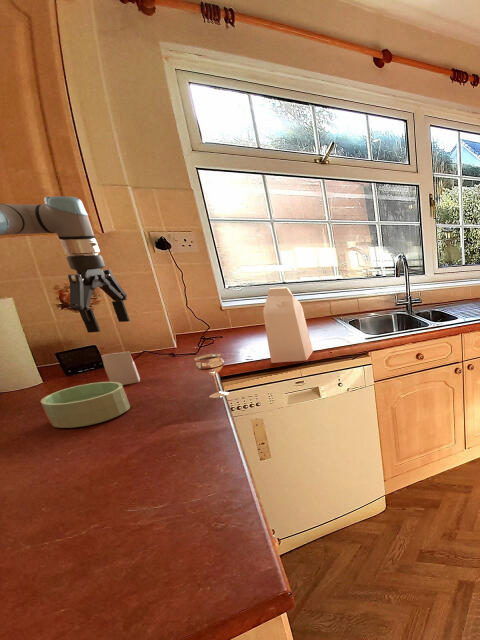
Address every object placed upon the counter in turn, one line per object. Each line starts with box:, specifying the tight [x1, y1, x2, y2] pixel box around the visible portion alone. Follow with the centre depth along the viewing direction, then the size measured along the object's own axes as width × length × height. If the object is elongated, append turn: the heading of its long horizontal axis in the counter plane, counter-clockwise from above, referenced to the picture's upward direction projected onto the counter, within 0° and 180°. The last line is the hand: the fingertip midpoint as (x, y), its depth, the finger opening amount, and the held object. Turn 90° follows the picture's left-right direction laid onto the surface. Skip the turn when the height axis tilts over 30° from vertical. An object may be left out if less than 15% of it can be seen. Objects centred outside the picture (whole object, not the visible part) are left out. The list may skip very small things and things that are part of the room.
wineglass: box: [193, 352, 229, 399], centre depth 125 cm, size 7×7×12 cm
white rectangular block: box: [100, 350, 141, 386], centre depth 135 cm, size 4×7×10 cm, turn 126°
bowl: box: [40, 381, 131, 429], centre depth 113 cm, size 16×16×7 cm
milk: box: [262, 287, 314, 364], centre depth 156 cm, size 12×12×26 cm
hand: (110, 326), depth 130 cm, fingers open, 13 cm apart
